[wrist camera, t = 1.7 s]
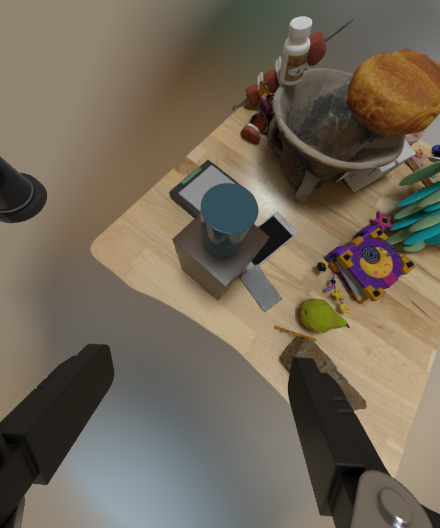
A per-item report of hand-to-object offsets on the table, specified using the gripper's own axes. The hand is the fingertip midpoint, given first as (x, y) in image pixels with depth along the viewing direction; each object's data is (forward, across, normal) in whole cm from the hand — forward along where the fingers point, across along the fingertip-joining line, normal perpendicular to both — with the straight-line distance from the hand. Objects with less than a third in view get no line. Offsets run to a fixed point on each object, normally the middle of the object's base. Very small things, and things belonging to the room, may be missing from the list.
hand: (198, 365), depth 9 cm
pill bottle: (+44, -12, -29) cm, 53 cm away
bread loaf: (+34, -29, -26) cm, 52 cm away
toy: (+57, -51, -13) cm, 78 cm away
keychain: (+27, -14, +17) cm, 35 cm away
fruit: (+28, -15, +14) cm, 34 cm away
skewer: (+64, 0, -30) cm, 71 cm away
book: (+40, -31, +7) cm, 51 cm away
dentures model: (+54, -4, -21) cm, 58 cm away
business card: (+33, -8, +12) cm, 36 cm away
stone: (+23, -14, +27) cm, 38 cm away
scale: (+44, +4, -6) cm, 44 cm away
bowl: (+53, -20, -14) cm, 59 cm away
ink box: (+53, -41, -16) cm, 69 cm away
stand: (+34, +2, +8) cm, 35 cm away
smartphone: (+40, -8, +3) cm, 41 cm away
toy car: (+55, -11, -29) cm, 63 cm away
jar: (+22, 0, -1) cm, 22 cm away
